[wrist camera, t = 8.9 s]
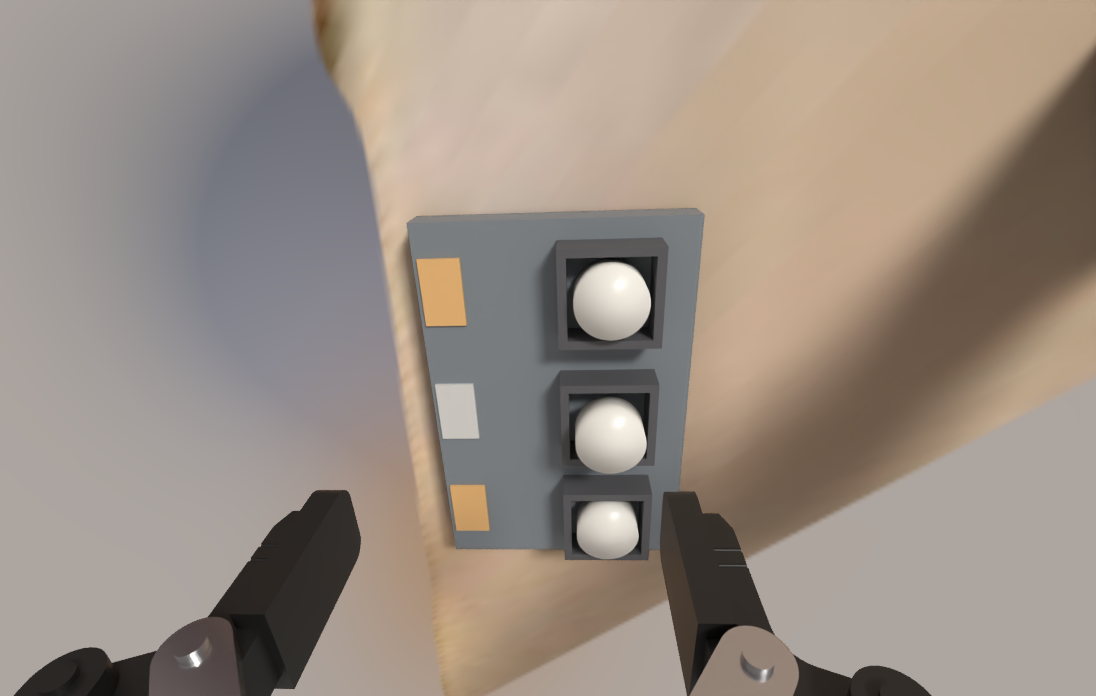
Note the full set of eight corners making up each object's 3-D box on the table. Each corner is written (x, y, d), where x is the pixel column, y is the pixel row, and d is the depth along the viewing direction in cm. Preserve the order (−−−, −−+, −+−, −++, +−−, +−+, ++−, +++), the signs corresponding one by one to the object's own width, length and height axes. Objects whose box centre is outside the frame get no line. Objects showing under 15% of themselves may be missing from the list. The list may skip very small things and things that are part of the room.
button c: (636, 491, 34) (639, 513, 32) (634, 536, 36) (637, 559, 34) (576, 491, 34) (576, 513, 32) (576, 536, 36) (577, 559, 34)
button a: (647, 256, 27) (652, 266, 25) (644, 325, 29) (649, 339, 27) (572, 258, 27) (572, 268, 25) (573, 326, 29) (573, 341, 27)
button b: (643, 396, 29) (648, 414, 28) (640, 452, 31) (645, 473, 29) (574, 397, 30) (575, 415, 28) (575, 453, 31) (575, 473, 30)
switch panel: (696, 208, 29) (714, 221, 25) (668, 529, 39) (678, 572, 35) (416, 216, 29) (394, 230, 26) (461, 528, 39) (450, 570, 36)
